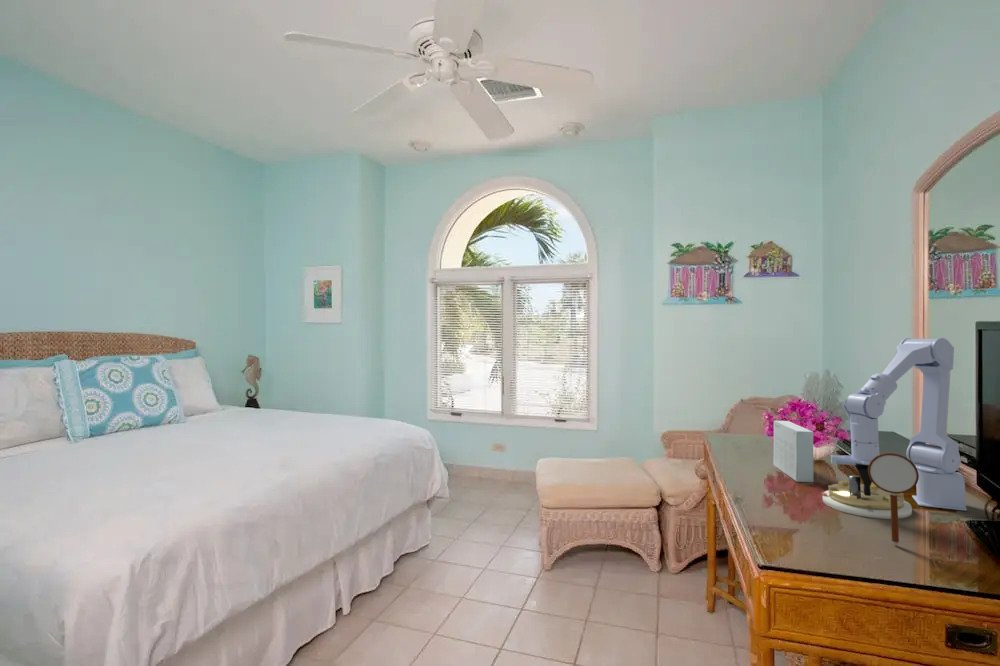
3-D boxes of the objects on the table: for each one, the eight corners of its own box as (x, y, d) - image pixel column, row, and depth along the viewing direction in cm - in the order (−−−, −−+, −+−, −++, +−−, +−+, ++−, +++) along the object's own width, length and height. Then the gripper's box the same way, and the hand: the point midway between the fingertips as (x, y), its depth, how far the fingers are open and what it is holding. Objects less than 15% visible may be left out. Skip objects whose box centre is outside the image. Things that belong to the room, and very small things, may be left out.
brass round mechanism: (912, 500, 128) (911, 472, 128) (891, 514, 119) (890, 484, 119) (842, 486, 141) (841, 461, 142) (818, 498, 132) (817, 471, 132)
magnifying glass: (920, 548, 104) (917, 454, 104) (922, 551, 103) (918, 456, 103) (870, 540, 109) (866, 450, 109) (870, 543, 107) (867, 452, 108)
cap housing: (903, 499, 134) (902, 492, 134) (920, 523, 117) (920, 514, 117) (820, 490, 143) (819, 483, 143) (825, 511, 127) (825, 503, 127)
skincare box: (815, 483, 151) (814, 431, 151) (796, 482, 152) (794, 431, 152) (789, 465, 171) (788, 419, 172) (772, 464, 173) (771, 419, 173)
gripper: (831, 442, 125) (834, 495, 125) (904, 446, 118) (907, 503, 118) (829, 436, 131) (831, 487, 131) (898, 440, 124) (900, 494, 124)
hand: (867, 494), depth 125 cm, fingers closed
